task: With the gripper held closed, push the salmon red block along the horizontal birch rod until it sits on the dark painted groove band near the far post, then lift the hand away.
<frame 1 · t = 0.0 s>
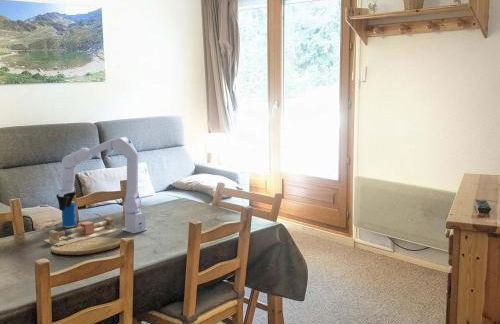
hand: (64, 208, 231), 11 cm above the table, tool pointing down, fingers open, 6 cm apart
rod rig: (83, 235, 224), on the table
salmon red block: (85, 227, 226), point 3 cm above the table, slide at 0.0 cm
beverage can: (69, 226, 239), on the table, touching gripper
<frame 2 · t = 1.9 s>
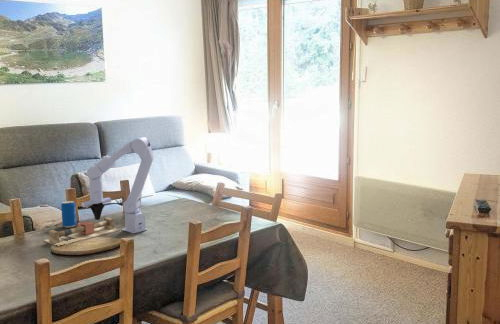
hand: (97, 219, 233), 5 cm above the table, tool pointing down, fingers closed
beverage can: (69, 226, 239), on the table
everything else where it was.
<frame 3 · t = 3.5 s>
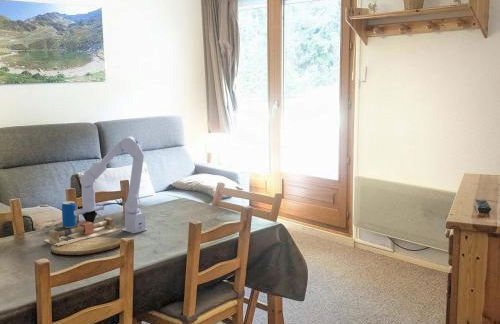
hand: (90, 227, 230), 2 cm above the table, tool pointing down, fingers closed
salmon red block: (85, 227, 226), point 3 cm above the table, slide at 0.3 cm, touching gripper
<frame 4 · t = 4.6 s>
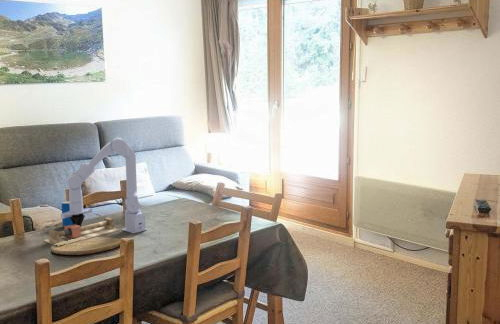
hand: (77, 230, 225), 2 cm above the table, tool pointing down, fingers closed
salmon red block: (72, 230, 221), point 3 cm above the table, slide at 6.6 cm, touching gripper
everything else where it was.
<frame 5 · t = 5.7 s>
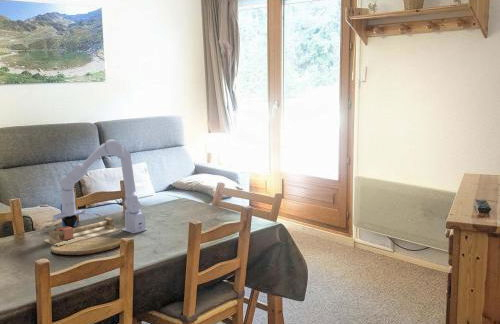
hand: (70, 232, 222), 2 cm above the table, tool pointing down, fingers closed
salmon red block: (64, 232, 218), point 3 cm above the table, slide at 10.3 cm, touching gripper
everything else where it was.
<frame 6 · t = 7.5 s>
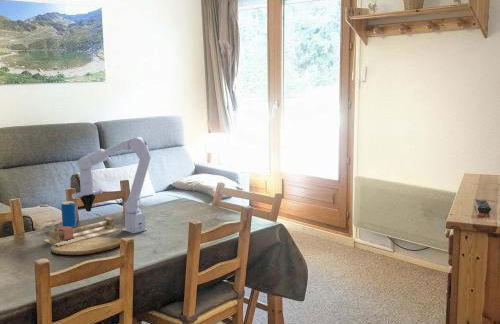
hand: (88, 211, 230), 10 cm above the table, tool pointing down, fingers closed
salmon red block: (64, 232, 218), point 3 cm above the table, slide at 10.4 cm
everything else where it was.
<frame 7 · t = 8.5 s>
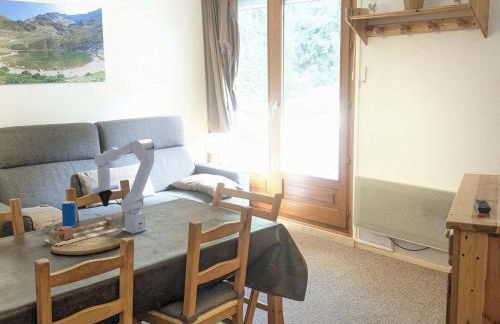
hand: (105, 206, 239), 10 cm above the table, tool pointing down, fingers closed
nothing on the table moved.
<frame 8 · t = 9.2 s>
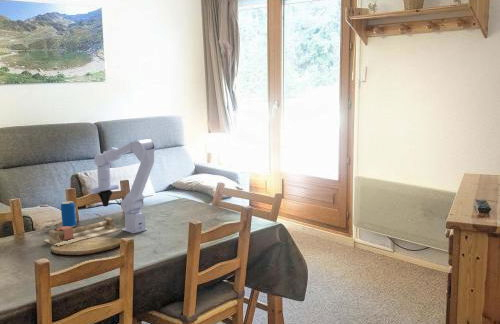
hand: (105, 206, 239), 10 cm above the table, tool pointing down, fingers closed
nothing on the table moved.
at the end: salmon red block slide at 10.4 cm; salmon red block 0.4 cm from the target spot, resting on rod rig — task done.
